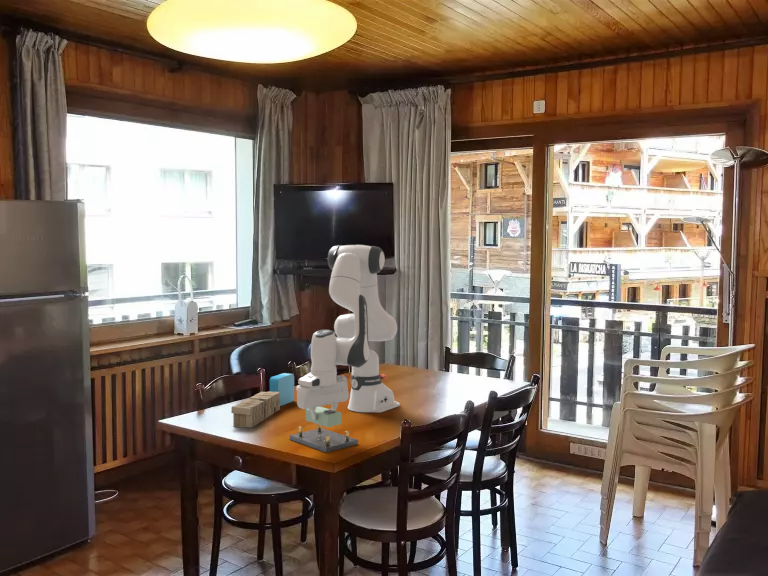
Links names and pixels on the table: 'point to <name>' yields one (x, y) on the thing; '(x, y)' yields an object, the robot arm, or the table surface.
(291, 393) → the data package
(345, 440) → the plate
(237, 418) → the block tower
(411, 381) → the table surface
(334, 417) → the pale green block
